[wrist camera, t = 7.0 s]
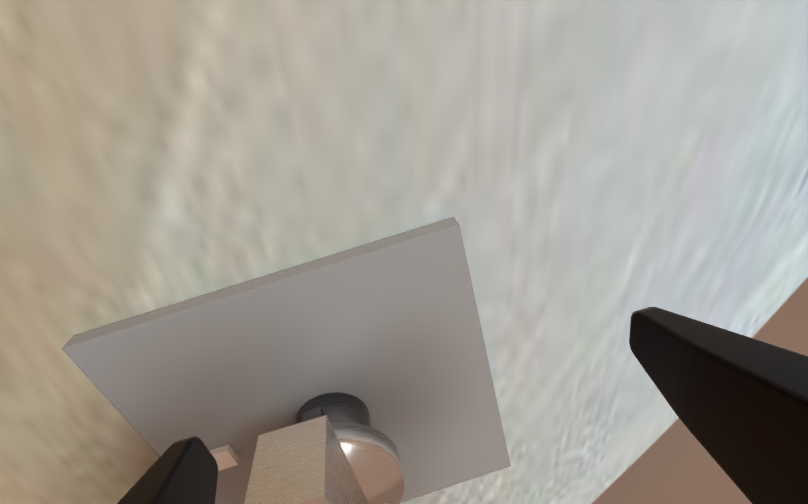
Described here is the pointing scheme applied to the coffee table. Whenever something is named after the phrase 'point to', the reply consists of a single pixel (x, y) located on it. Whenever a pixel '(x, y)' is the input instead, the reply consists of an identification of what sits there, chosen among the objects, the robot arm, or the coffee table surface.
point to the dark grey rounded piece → (335, 409)
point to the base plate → (316, 360)
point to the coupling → (325, 465)
